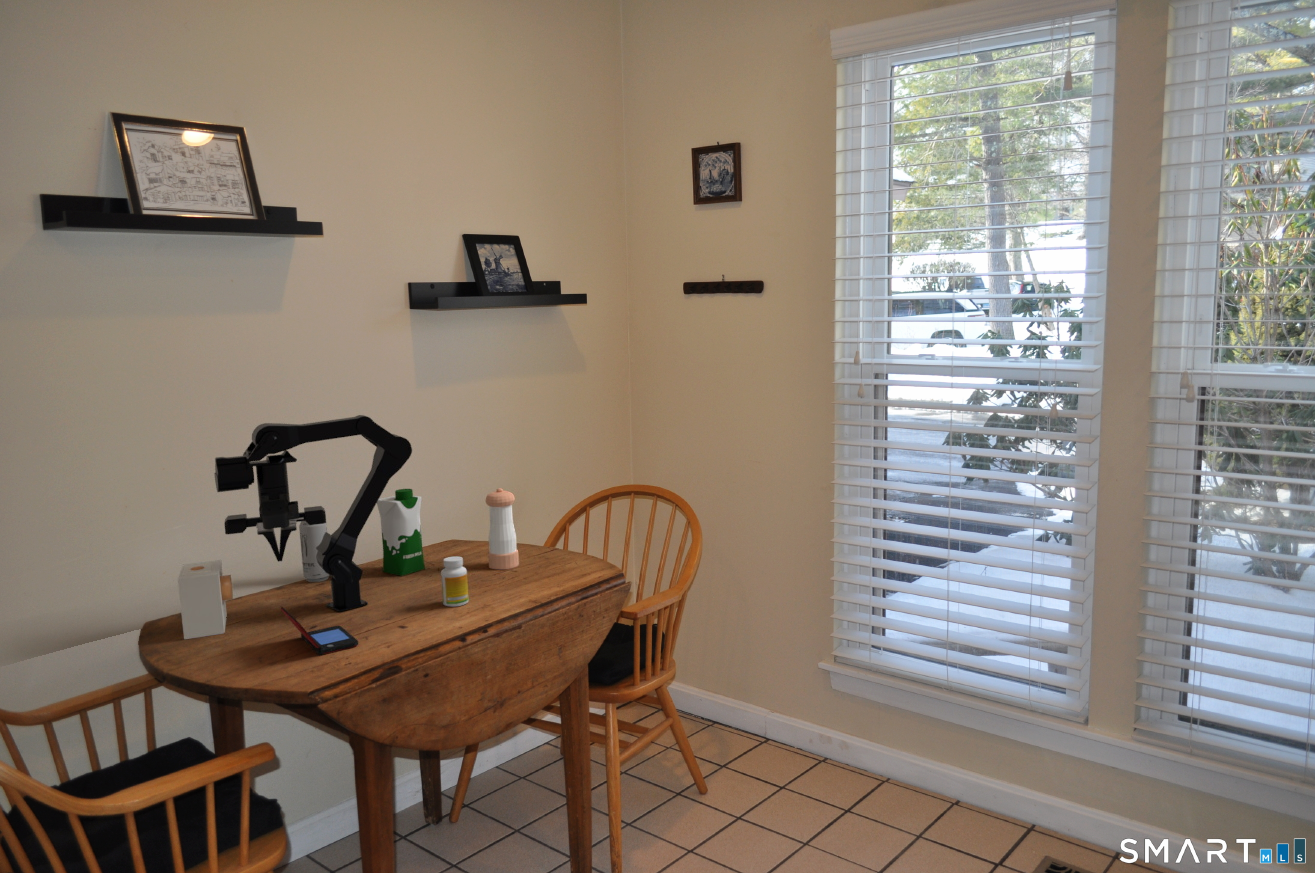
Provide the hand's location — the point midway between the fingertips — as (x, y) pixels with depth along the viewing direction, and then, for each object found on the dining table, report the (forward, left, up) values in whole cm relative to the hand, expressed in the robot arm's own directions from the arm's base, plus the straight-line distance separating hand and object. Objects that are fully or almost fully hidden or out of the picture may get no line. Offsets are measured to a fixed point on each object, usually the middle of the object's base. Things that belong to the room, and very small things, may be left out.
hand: (279, 560), depth 181 cm
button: (+6, +10, -7) cm, 13 cm away
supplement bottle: (-20, -28, -12) cm, 37 cm away
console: (+7, +13, -12) cm, 19 cm away
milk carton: (+12, -34, -12) cm, 38 cm away
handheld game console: (-21, +2, -12) cm, 24 cm away
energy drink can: (+22, -17, -12) cm, 30 cm away
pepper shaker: (-4, -52, -12) cm, 54 cm away
